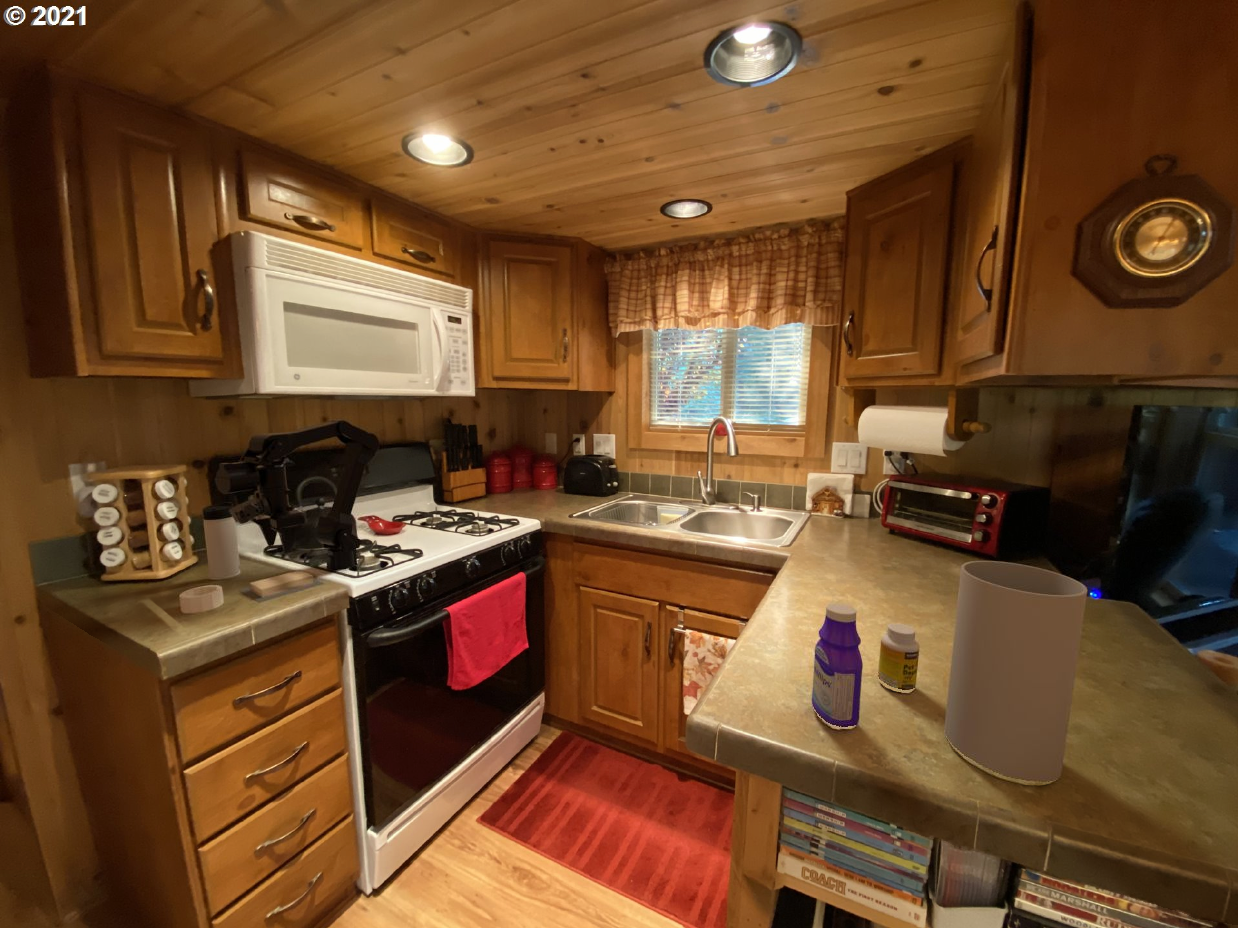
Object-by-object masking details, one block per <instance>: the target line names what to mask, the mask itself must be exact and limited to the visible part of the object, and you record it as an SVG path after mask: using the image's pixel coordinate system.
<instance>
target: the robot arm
mask: <svg viewBox="0 0 1238 928" xmlns="http://www.w3.org/2000/svg"><path fill="white" fill-rule="evenodd" d="M332 438H336V439H337V440H338V441H339V442H340V443H341V444H344V445H345V447H344V455H345V458H346V463H345V465H344V469H343V471H342V475H341V478H340V481H339V484H338V487H337V490H336V494H335V497H334V499H333V503H332V506H331V509H330V511H329V512H328V514H326V515H320V516H319V517H318V522H317V524H316V525H317V526H316V527H315V528H314V531H316V532H315V538H316V539H317V540H318V542H319V543H320V544H321V545H322V548H324V549H326V550H327V555H326V556H325V561H326V563H325V564H326V570H328V572H329V571H330V572H336V571H344V570H348V569H351V568H353V567H355V566H357V565H358V556H357V549H360V547H361V544H362V539H361V538H359V537H358V536H357V535H354V534H353V528H354V524H353V520H352V511H353V508H354V505H355V502H356V499H357V495H358V492H359V490H360V486H361V483H362V481H363V480H362V479H363V476H364V473H365V470H366V467H367V465H368V464H369V463H370V462H371V461H372V460H373V459H374V458H375V456H376V454H377V452H378V450H379V448H380V445H381V443H380V440H379V437H377V435H376V434H374V433H371V432H367V431H366V430H364V429H362V428H359V427H357V426H355V425H353V424H351V423H350V422H348V421H346V420H345V419H332V420H329V421H327V422H323V423H319V424H316V425H312V426H307V427H303V428H299V429H296V430H292V431H291V430H290V431H284V432H269V433H268V432H266V433H257V434H255V435H253V436H251V437H250V440H249V442H248V446H247V448H246V449H245V451H244V453H243V454H242V456H241V457H240V459H239V460H238V462H229V463H228V462H222V463H219V468H218V470H217V471H216V474H215V477H214V482H215V483H214V484H215V486H216V488H217V490H218V491H219V492H220V493H221V494H222V495H228V494H234V493H235V494H236V493H239V492H247V491H252V490H255V489H256V488H257V490H256V491H254V493H253V498H251V499H249V500H246V501H244V502H242V503H239V504H237V505H235V506H233V508H231V509H229V512H230V513H231V515H232V517H233V518H234V520H235V523H239V525H240V524H241V525H243V524H247V523H248V522H252V523H253V524H255V525H257V526H258V527H259V530H260V531H261V533H262V535H263V538H264V540H265V542H266V544H267V546H268V547H272V546H274V545H275V543H276V539H277V535H278V536H279V540H280V543H281V547H282V550H283V553H284V554H288V553H291V551H292V548H293V546H294V544H295V541H296V539H297V537H298V535H299V533H300V531H301V530H302V528H303V527H304V525H306V524H307V523H308V522H307V515H306V514H305V513H304V512H302V511H299V510H295V509H294V510H293V505H290V503H289V495H292V490H291V489H289V488H288V483H287V474H286V473H287V472H286V467H292V466H295V462H294V461H292V460H291V459H289V458H288V457H287V455H291V454H292V453H293V452H295V451H297V449H299V448H301V447H303V446H308V445H310V444H311V445H312V444H315V443H318V442H321V441H324V440H328V439H332Z"/></svg>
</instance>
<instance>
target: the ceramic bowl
mask: <svg viewBox="0 0 1238 928" xmlns="http://www.w3.org/2000/svg"><path fill="white" fill-rule="evenodd" d="M178 599H179V604H180V605H179V606H180V612H182V613H183V614H198V613H203V612H208V611H210V610H214V609H216V608H218V607H220V606H222V605H223V604H224V591H223V587H222V586H221V585H219V584H218V585H217V584H215V585H214V584H209V585H203V586H198V587H194V588H189V589H187V590H185V591H183V592H181V593H180V594H179V598H178Z"/></svg>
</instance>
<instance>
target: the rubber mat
mask: <svg viewBox="0 0 1238 928" xmlns="http://www.w3.org/2000/svg"><path fill="white" fill-rule="evenodd" d="M321 585H325V583H324V582H322V581H320V580H318V579H316V578H314V577H313V583H312V584H309V585H305V586H302V587H298V588H295V589H291V590H288V591H284V592H281V593H277V594H274V595H270V596H267V597H263V598H262V597H260V596H259V595H257V594H255V593H253V592H252V591H250V587H248V588H243V589H240V590H239V592H240V593H242V594H244V595H245V596H247V597H249V598H251V599H252V600H254V601H256V602H257V603H259V604H260V603H263V602H267V601H269V600H273V599H277V598H281V597H283V596H287V595H290V594H294V593H297V592H300V591H304V590H307V589H311V588H314V587H318V586H321Z"/></svg>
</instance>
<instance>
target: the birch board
mask: <svg viewBox="0 0 1238 928" xmlns="http://www.w3.org/2000/svg"><path fill="white" fill-rule="evenodd" d="M313 578H314V576H313V574H311V573H308V572H305V571H303V570H301V569H298V570H294V571H290V572H287V573H283V574H279V575H275V576H271V577H268V578H264V579H259V580H256V581H252V582H249V588H250V591H252V592H253V593H255V594H257V595H259V596H260V597H262V598H263V597H267V596H270V595H274V594H277V593H281V592H284V591H288V590H291V589H295V588H298V587H302V586H305V585H309V584H312V583H313Z"/></svg>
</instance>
